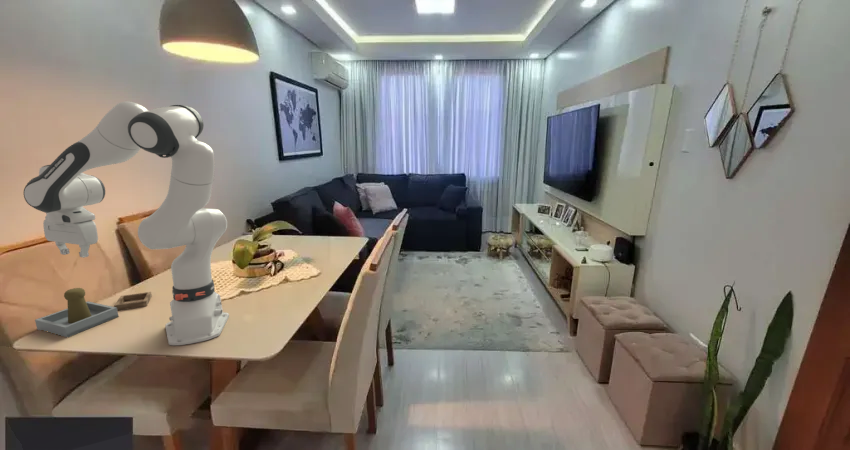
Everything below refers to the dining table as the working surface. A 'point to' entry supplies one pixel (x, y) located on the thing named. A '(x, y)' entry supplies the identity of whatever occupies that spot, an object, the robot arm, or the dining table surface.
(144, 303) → the holder collar
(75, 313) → the olive tapered knobbed cylinder
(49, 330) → the tray
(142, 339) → the dining table surface
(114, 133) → the robot arm
